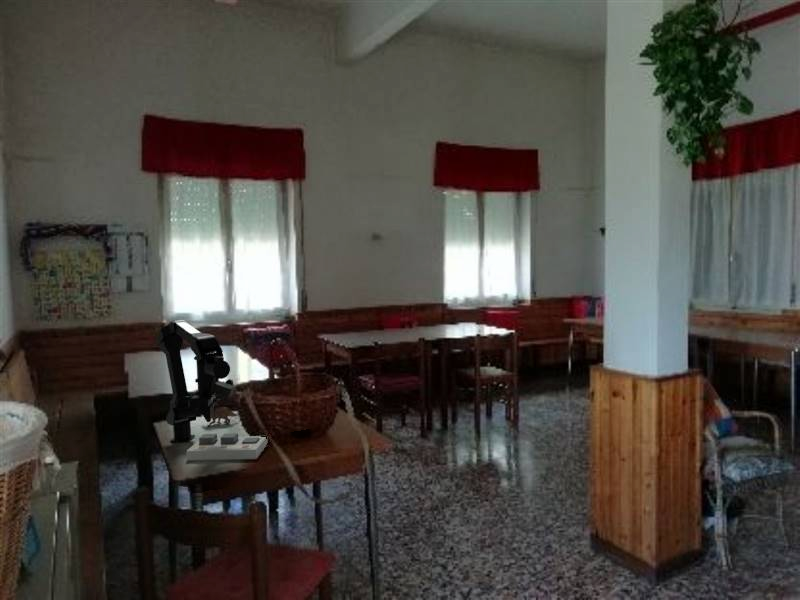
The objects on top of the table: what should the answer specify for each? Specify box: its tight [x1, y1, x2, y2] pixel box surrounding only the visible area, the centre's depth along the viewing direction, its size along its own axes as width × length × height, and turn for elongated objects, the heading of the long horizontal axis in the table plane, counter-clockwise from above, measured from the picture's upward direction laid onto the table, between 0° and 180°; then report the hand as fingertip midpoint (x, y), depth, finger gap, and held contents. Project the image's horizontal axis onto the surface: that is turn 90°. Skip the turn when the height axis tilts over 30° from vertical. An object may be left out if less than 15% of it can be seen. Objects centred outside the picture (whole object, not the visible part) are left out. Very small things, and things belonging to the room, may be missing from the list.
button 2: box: [242, 437, 259, 444], centre depth 198 cm, size 4×4×2 cm
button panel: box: [186, 435, 268, 461], centre depth 197 cm, size 14×22×3 cm, turn 88°
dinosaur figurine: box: [206, 402, 239, 427], centre depth 231 cm, size 14×6×9 cm, turn 94°
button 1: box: [198, 433, 218, 445], centre depth 198 cm, size 4×4×2 cm
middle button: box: [220, 432, 239, 444], centre depth 198 cm, size 4×4×2 cm
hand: (208, 421), depth 198 cm, fingers closed
